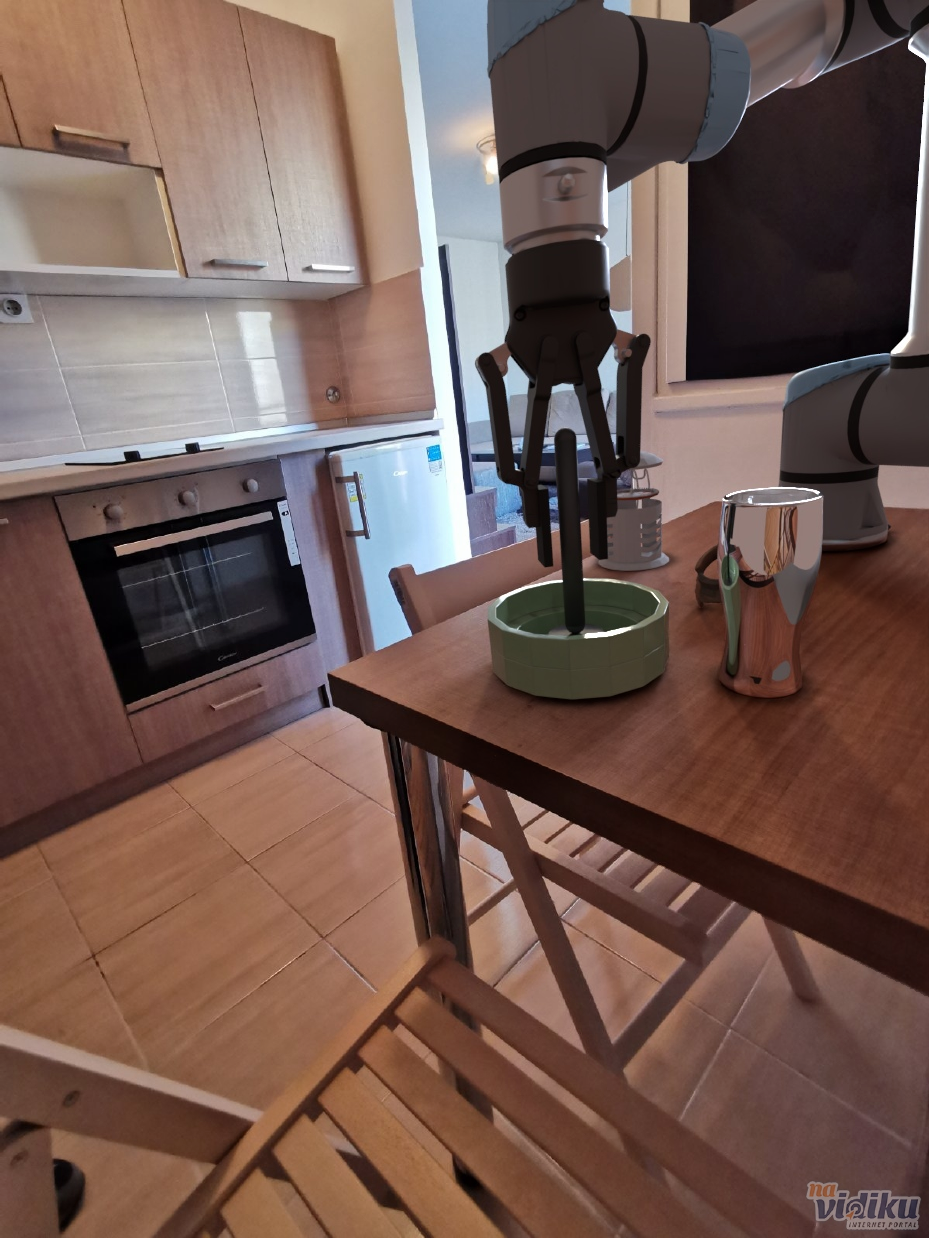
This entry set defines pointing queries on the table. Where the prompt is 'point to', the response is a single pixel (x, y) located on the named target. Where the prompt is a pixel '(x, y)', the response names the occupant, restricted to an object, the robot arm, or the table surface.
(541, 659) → the bowl
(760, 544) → the beer glass
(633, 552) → the french press
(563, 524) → the rod on round base
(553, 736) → the table surface
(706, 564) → the brown curved piece
